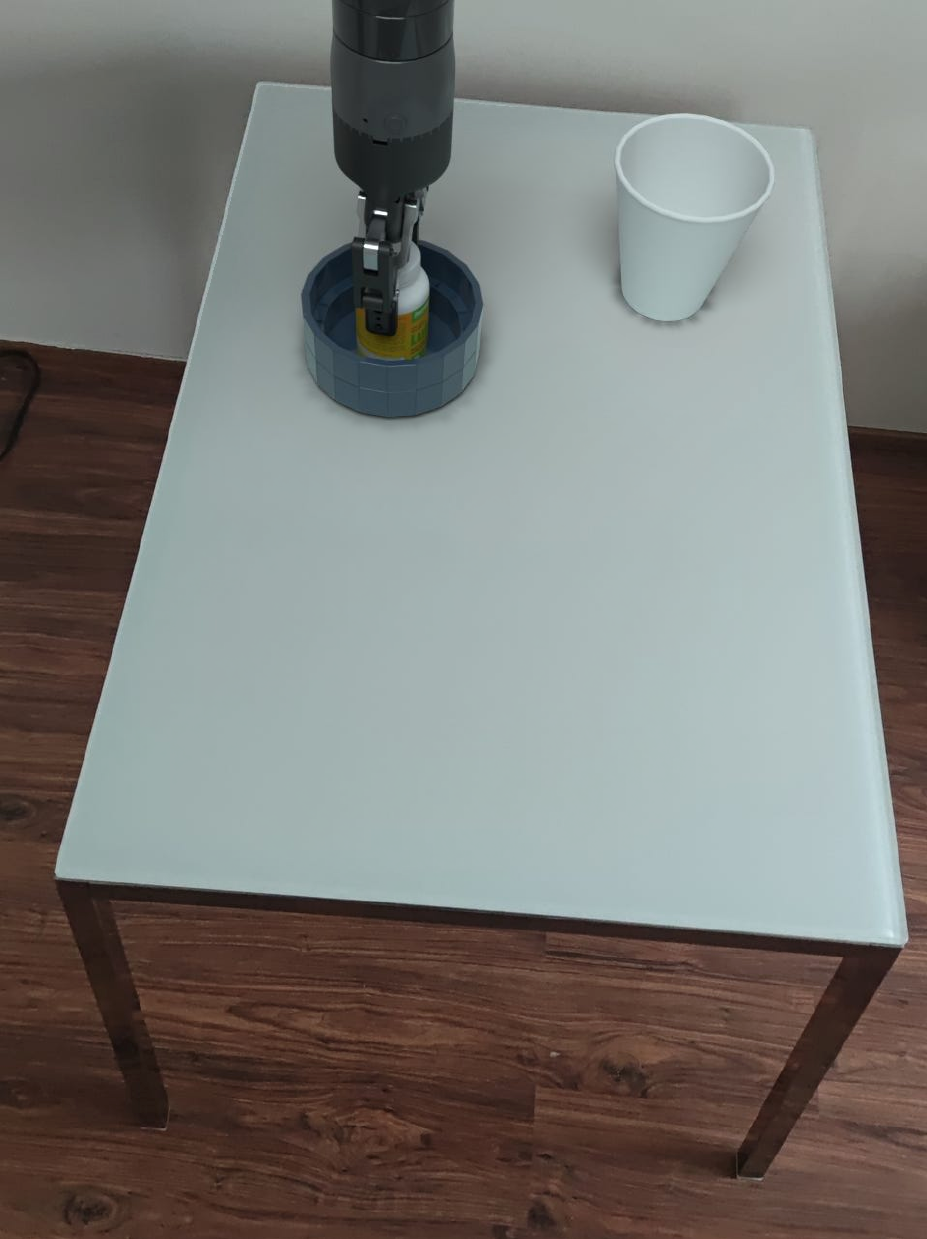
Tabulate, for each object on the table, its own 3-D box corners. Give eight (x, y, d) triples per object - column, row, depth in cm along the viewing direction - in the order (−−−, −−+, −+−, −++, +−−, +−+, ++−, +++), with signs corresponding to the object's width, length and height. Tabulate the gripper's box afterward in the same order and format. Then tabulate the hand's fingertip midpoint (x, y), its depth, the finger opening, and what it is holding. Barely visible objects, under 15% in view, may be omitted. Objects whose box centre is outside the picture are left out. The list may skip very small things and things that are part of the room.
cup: (673, 367, 95) (709, 244, 84) (560, 288, 99) (581, 160, 88) (764, 293, 100) (808, 167, 89) (652, 220, 104) (682, 91, 93)
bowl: (287, 405, 91) (281, 348, 86) (329, 282, 98) (325, 223, 93) (460, 435, 90) (465, 380, 85) (490, 310, 97) (496, 252, 92)
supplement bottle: (420, 382, 92) (423, 286, 84) (350, 371, 92) (346, 274, 84) (432, 331, 95) (436, 233, 87) (364, 321, 95) (362, 221, 87)
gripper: (359, 16, 79) (363, 221, 93) (304, 159, 71) (318, 358, 85) (473, 34, 78) (460, 237, 92) (430, 180, 71) (423, 376, 85)
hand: (392, 294), depth 89 cm, fingers open, 7 cm apart
